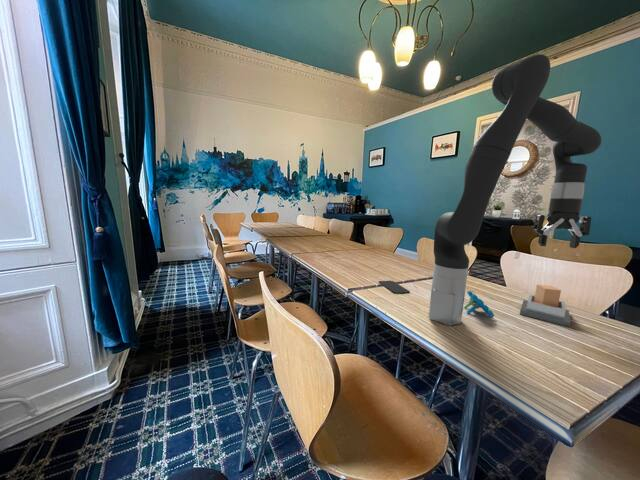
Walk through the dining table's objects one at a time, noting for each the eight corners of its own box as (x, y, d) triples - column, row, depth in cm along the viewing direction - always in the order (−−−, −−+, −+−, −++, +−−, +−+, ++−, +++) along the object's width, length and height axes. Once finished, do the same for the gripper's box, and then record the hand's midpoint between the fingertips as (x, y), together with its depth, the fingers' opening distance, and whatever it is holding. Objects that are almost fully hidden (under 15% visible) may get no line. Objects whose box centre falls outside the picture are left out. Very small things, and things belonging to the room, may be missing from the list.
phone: (392, 280, 115) (411, 291, 100) (392, 282, 115) (411, 293, 100) (377, 281, 113) (394, 292, 99) (377, 282, 113) (394, 294, 99)
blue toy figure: (501, 318, 77) (477, 292, 78) (485, 329, 78) (461, 304, 79) (485, 308, 88) (465, 286, 89) (471, 318, 89) (451, 296, 90)
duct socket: (569, 327, 76) (572, 313, 75) (519, 314, 84) (521, 301, 84) (567, 314, 86) (570, 301, 85) (523, 303, 94) (525, 292, 93)
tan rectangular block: (556, 313, 82) (561, 290, 81) (540, 311, 83) (545, 288, 82) (547, 308, 86) (551, 285, 85) (533, 306, 87) (536, 284, 86)
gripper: (547, 196, 79) (539, 247, 82) (603, 197, 76) (592, 250, 78) (533, 197, 86) (526, 243, 89) (584, 198, 83) (575, 246, 86)
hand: (557, 246), depth 84 cm, fingers open, 8 cm apart
